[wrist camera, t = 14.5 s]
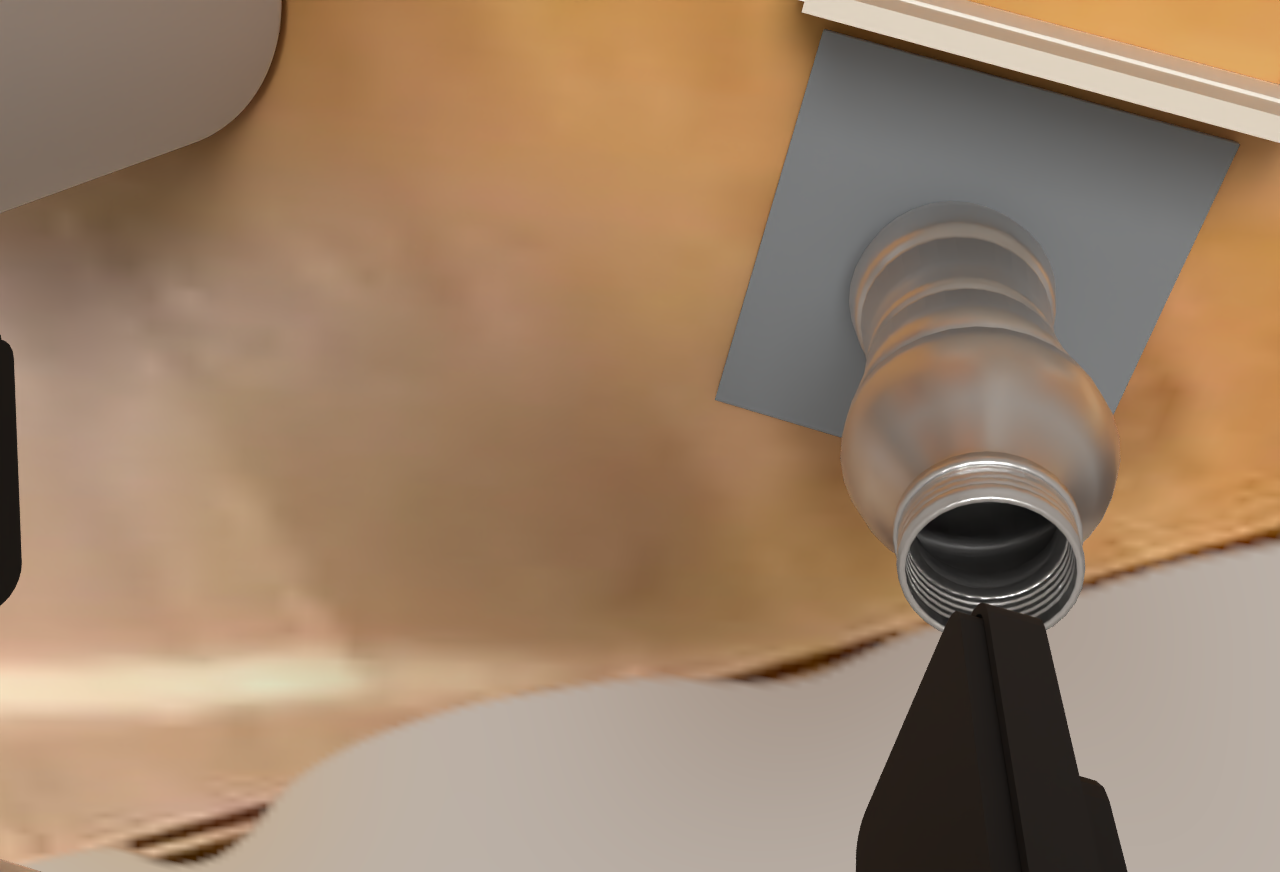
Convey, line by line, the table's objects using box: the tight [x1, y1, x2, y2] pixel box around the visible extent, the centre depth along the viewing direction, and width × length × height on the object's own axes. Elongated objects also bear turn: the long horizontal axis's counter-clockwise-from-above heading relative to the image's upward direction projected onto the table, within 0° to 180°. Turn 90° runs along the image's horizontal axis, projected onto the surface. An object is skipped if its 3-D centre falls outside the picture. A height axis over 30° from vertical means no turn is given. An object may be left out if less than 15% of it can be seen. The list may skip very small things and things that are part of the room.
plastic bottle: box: [840, 201, 1120, 632], centre depth 33 cm, size 6×7×20 cm
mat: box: [715, 29, 1240, 438], centre depth 42 cm, size 14×14×1 cm
